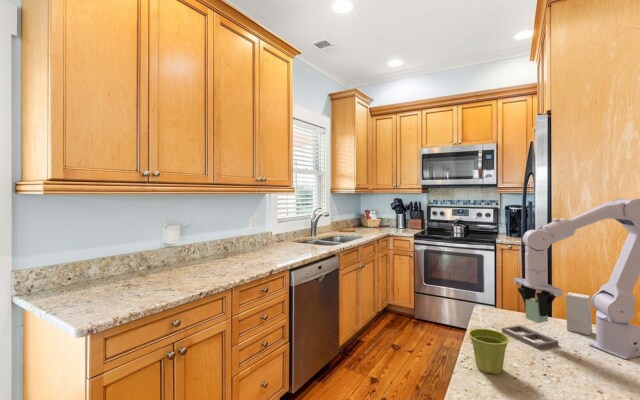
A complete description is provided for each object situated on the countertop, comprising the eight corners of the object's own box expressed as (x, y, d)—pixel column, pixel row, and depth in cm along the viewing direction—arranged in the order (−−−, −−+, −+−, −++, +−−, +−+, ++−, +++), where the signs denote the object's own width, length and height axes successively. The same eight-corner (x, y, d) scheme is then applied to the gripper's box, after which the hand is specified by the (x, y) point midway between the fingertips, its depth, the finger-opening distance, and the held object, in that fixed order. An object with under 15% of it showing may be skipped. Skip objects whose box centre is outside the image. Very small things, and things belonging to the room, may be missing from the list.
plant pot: (494, 382, 79) (493, 346, 79) (461, 365, 87) (461, 332, 87) (517, 372, 83) (517, 338, 83) (484, 356, 91) (483, 326, 91)
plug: (547, 321, 99) (547, 299, 99) (537, 323, 98) (537, 301, 97) (535, 316, 102) (535, 295, 102) (525, 318, 101) (525, 297, 101)
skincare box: (592, 332, 106) (592, 295, 106) (589, 336, 103) (588, 298, 103) (569, 326, 111) (569, 291, 111) (565, 330, 108) (565, 294, 108)
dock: (558, 345, 98) (558, 340, 98) (538, 349, 95) (538, 344, 95) (520, 328, 110) (520, 324, 110) (501, 331, 108) (501, 327, 108)
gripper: (506, 265, 106) (506, 307, 106) (549, 275, 92) (549, 323, 92) (522, 263, 108) (523, 304, 108) (567, 273, 94) (568, 320, 94)
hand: (536, 313), depth 100 cm, fingers closed on plug, 4 cm apart
